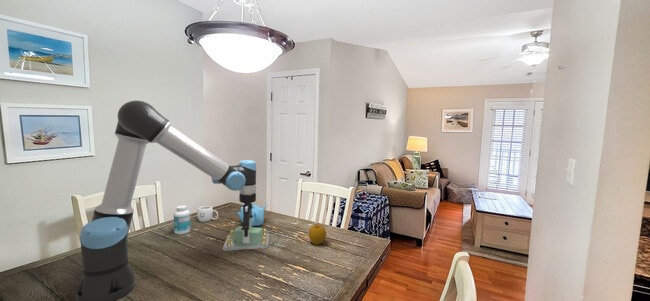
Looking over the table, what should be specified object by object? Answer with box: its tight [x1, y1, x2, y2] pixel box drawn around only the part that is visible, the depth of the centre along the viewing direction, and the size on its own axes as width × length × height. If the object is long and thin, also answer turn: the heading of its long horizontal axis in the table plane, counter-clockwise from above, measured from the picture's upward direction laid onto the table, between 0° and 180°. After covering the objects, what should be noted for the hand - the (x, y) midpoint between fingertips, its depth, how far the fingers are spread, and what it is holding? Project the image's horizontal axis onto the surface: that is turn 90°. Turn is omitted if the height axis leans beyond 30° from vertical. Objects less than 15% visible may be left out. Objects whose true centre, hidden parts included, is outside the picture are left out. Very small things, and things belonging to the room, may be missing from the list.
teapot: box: [236, 204, 268, 227], centre depth 150 cm, size 16×18×11 cm
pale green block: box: [233, 225, 264, 243], centre depth 128 cm, size 12×6×5 cm, turn 82°
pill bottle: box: [173, 205, 191, 235], centre depth 137 cm, size 8×7×14 cm
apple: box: [308, 224, 327, 246], centre depth 129 cm, size 9×8×9 cm
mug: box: [196, 205, 219, 223], centre depth 155 cm, size 12×8×8 cm
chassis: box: [222, 228, 270, 252], centre depth 128 cm, size 20×14×4 cm
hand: (247, 236), depth 128 cm, fingers open, 13 cm apart
